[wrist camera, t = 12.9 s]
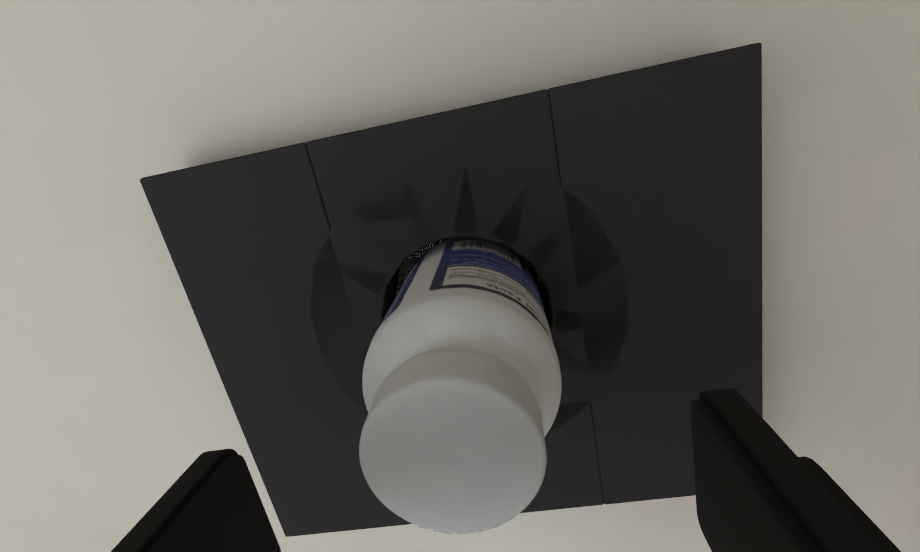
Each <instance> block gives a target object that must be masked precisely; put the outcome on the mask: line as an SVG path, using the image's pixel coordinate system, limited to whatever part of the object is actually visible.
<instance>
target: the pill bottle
mask: <svg viewBox="0 0 920 552" xmlns="http://www.w3.org/2000/svg"><path fill="white" fill-rule="evenodd" d="M362 387H363V396H364V400H365V405H366V408H367V411H368V416H367V418H366V421H365V423H364V426H363V429H362V433H361V437H360V444H359V459H360V464H361V468H362V471H363V474H364V477H365V479H366V481H367V483H368V485H369V487H370V488H371V490H372V492H373V493H374V494H375V495H376V497H377V498H378V499H379V500H380V501H381V502H382V503H383V504H384V505H385V506H386V507H387V508H388V509H389V510H391V511H392V512H394V513H395V514H396V515H398V516H399V517H401V518H403V519H404V520H406V521H408V522H410V523H412V524H414V525H417V526H419V527H421V528H425V529H429V530H433V531H438V532H444V533H459V534H460V533H472V532H477V531H478V532H479V531H483V530H487V529H491V528H494V527H497V526H499V525H501V524H503V523H505V522H507V521H509V520H511V519H512V518H514V517H515V516H516V515H518V514H519V513H520V512H521V511H523V510H524V509H525V508H526V507H527V506H528V505H529V504H530V502H531V501H532V500H533V499H534V497H535V496H536V494H537V492H538V491H539V488H540V486H541V484H542V482H543V478H544V475H545V470H546V463H547V455H546V446H545V438H544V437H545V436H546V434H547V433H548V431H549V430H550V428H551V426H552V424H553V422H554V420H555V417H556V415H557V412H558V408H559V404H560V399H561V389H562V381H561V372H560V365H559V359H558V355H557V352H556V350H555V346H554V343H553V339H552V336H551V332H550V328H549V325H548V321H547V318H546V315H545V311H544V307H543V304H542V301H541V297H540V293H539V289H538V287H537V284H536V281H535V278H534V276H533V274H532V272H531V270H530V268H529V266H528V265H527V263H526V262H525V260H524V259H523V258H522V257H521V256H520V255H519V254H517V253H516V252H514V251H513V250H511V249H510V248H508V247H507V246H505V245H504V244H502V243H500V242H496V241H491V240H486V239H481V238H476V237H471V236H466V235H465V236H460V237H454V238H449V239H446V240H444V241H442V242H440V243H438V244H436V245H434V246H433V247H431V248H430V249H429V250H428V251H426V252H425V253H424V254H423V255H422V256H421V257H420V258H419V259H418V261H417V262H416V263H415V264H414V266H413V267H412V269H411V270H410V272H409V273H408V275H407V277H406V279H405V281H404V283H403V285H402V287H401V289H400V290H399V292H398V294H397V296H396V298H395V300H394V301H393V303H392V305H391V307H390V308H389V310H388V312H387V314H386V316H385V318H384V319H383V321H382V323H381V324H380V326H379V328H378V330H377V332H376V333H375V335H374V337H373V339H372V341H371V343H370V347H369V349H368V352H367V355H366V358H365V362H364V368H363V377H362Z"/></svg>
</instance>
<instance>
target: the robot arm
mask: <svg viewBox="0 0 920 552" xmlns="http://www.w3.org/2000/svg"><path fill="white" fill-rule="evenodd" d="M690 411H691V427H692V442H693V458H694V473H695V489H696V504H697V515H698V520H699V523H700V527H701V529H702V532H703V534H704V536H705V538H706V540H707V542H708V544H709V546H710V548H711V550H712V552H901V551H900V550H899V549H898V548H897V547H896V546H895V545H894V544H893V543H892V542H891V541H890V540H889V538H888V537H887V536H886V535H885V534H884V533H883V532H882V531H881V530H880V529H879V528H878V527H877V526H876V525H875V524H874V523H873V522H872V520H871V519H870V518H869V517H868V516H867V515H866V514H865V513H864V512H863V511H862V510H861V509H860V508H859V507H858V506H857V505H856V504H855V503H854V501H853V500H852V499H851V498H850V497H849V496H848V495H847V494H846V493H845V492H844V491H843V490H842V489H841V488H840V487H839V486H838V485H837V484H836V482H835V481H834V480H833V479H832V478H831V477H830V476H829V475H828V474H827V473H826V472H825V471H824V470H823V469H822V468H821V467H820V466H819V465H818V464H817V463H816V462H815V461H813V460H812V459H810V458H808V457H797V456H796V455H795V454H794V452H793V451H792V450H791V449H790V448H789V447H788V446H787V445H786V444H785V443H784V441H783V440H782V439H781V438H780V437H779V436H778V435H777V434H776V433H775V431H774V430H773V429H772V428H771V427H770V426H769V425H768V424H767V423H766V422H765V420H764V419H763V418H762V417H761V416H760V415H759V414H758V413H757V412H756V410H755V409H754V408H753V407H752V406H751V405H750V404H749V403H748V402H747V401H746V399H745V398H744V397H743V396H742V395H741V394H740V393H739V392H738V391H737V390H736V389H735V388H725V389H717V390H708V391H702V392H700V395H699V400H692V401H691V404H690ZM111 552H281V550H280V547H279V544H278V542H277V539H276V537H275V534H274V532H273V529H272V527H271V524H270V522H269V519H268V517H267V514H266V512H265V509H264V507H263V504H262V502H261V499H260V497H259V494H258V492H257V489H256V487H255V484H254V482H253V479H252V477H251V475H250V472H249V470H248V467H247V465H246V462H245V460H244V458H243V457H242V456H241V455H238V454H237V452H236V451H234V450H233V449H224V450H216V451H208V452H205V453H203V454H201V455H200V456H199V457H198V458H197V459H196V460H195V461H194V462H193V464H192V465H191V466H190V467H189V468H188V469H187V470H186V471H185V472H184V473H183V474H182V475H181V476H180V478H179V479H178V480H177V481H176V482H175V483H174V484H173V485H172V486H171V487H170V488H169V489H168V491H167V492H166V493H165V494H164V495H163V496H162V497H161V498H160V499H159V500H158V501H157V502H156V504H155V505H154V506H153V507H152V508H151V509H150V510H149V511H148V512H147V513H146V514H145V515H144V517H143V518H142V519H141V520H140V521H139V522H138V523H137V524H136V525H135V526H134V527H133V528H132V530H131V531H130V532H129V533H128V534H127V535H126V536H125V537H124V538H123V539H122V540H121V541H120V543H119V544H118V545H117V546H116V547H115V548H114V549H113V550H112V551H111Z"/></svg>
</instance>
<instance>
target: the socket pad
mask: <svg viewBox="0 0 920 552" xmlns="http://www.w3.org/2000/svg"><path fill="white" fill-rule="evenodd" d="M140 182H141V184H142V187H143V189H144V191H145V194H146V196H147V199H148V201H149V204H150V206H151V209H152V211H153V213H154V216H155V218H156V221H157V223H158V226H159V228H160V231H161V233H162V235H163V238H164V240H165V243H166V245H167V248H168V250H169V252H170V255H171V257H172V260H173V262H174V265H175V267H176V270H177V272H178V274H179V277H180V279H181V282H182V284H183V287H184V289H185V292H186V294H187V296H188V299H189V301H190V304H191V306H192V309H193V311H194V314H195V316H196V318H197V321H198V323H199V326H200V328H201V331H202V333H203V336H204V338H205V340H206V343H207V345H208V348H209V350H210V353H211V355H212V357H213V360H214V362H215V365H216V367H217V370H218V372H219V375H220V377H221V379H222V382H223V384H224V387H225V389H226V392H227V394H228V397H229V399H230V401H231V404H232V406H233V409H234V411H235V414H236V416H237V419H238V421H239V423H240V426H241V428H242V431H243V433H244V436H245V438H246V440H247V443H248V445H249V448H250V450H251V453H252V455H253V458H254V460H255V462H256V465H257V467H258V470H259V472H260V475H261V477H262V480H263V482H264V484H265V487H266V489H267V492H268V494H269V497H270V499H271V502H272V504H273V506H274V509H275V511H276V514H277V516H278V519H279V521H280V523H281V526H282V528H283V531H284V533H285V536H287V537H288V536H298V535H308V534H317V533H327V532H337V531H347V530H356V529H366V528H376V527H386V526H395V525H405V524H412V523H410V522H408V521H406V520H404V519H403V518H401V517H399V516H398V515H396V514H395V513H394V512H392V511H391V510H389V509H388V508H387V507H386V506H385V505H384V504H383V503H382V502H381V501H380V500H379V499H378V498H377V497H376V495H375V494H374V493H373V492H372V490H371V488H370V487H369V485H368V483H367V481H366V479H365V477H364V474H363V471H362V468H361V464H360V459H359V444H360V437H361V433H362V429H363V426H364V423H365V421H366V418H367V416H368V411H367V408H366V405H365V400H364V396H363V387H362V377H363V368H364V362H365V358H366V355H367V352H368V349H369V347H370V343H371V341H372V339H373V337H374V335H375V333H376V332H377V330H378V328H379V326H380V324H381V323H382V321H383V319H384V318H385V316H386V314H387V312H388V310H389V308H390V307H391V305H392V303H393V301H394V300H395V298H396V294H395V293H396V287H397V281H398V274H399V268H400V265H401V264H402V262H403V261H404V259H406V258H408V257H409V256H411V255H412V254H414V253H415V252H417V251H418V250H420V249H421V248H423V247H424V246H426V245H427V244H429V243H431V242H432V241H438V240H443V239H449V238H454V237H460V236H465V235H466V236H471V237H476V238H481V239H486V240H491V241H496V242H500V243H502V244H504V245H505V246H507V247H508V248H510V249H511V250H513V251H514V252H516V253H517V254H519V255H520V256H522V257H523V258H525V259H526V260H528V261H529V262H530V263H531V265H532V266H533V268H534V269H535V271H536V272H537V274H538V275H539V277H540V279H541V280H542V282H543V286H544V292H545V299H544V302H543V307H544V311H545V315H546V318H547V321H548V325H549V328H550V332H551V336H552V339H553V343H554V346H555V350H556V352H557V355H558V359H559V365H560V372H561V381H562V389H561V399H560V404H559V408H558V412H557V415H556V417H555V420H554V422H553V424H552V426H551V428H550V430H549V431H548V433H547V434H546V436H545V437H544V438H545V446H546V455H547V463H546V470H545V475H544V478H543V482H542V484H541V486H540V488H539V491H538V492H537V494H536V496H535V497H534V499H533V500H532V501H531V502H530V504H529V505H528V506H527V507H526V508H525V509H524V510H523V511H521V512H520V513H524V512H534V511H544V510H553V509H563V508H573V507H583V506H593V505H602V504H603V503H604V504H613V503H623V502H633V501H643V500H652V499H662V498H672V497H682V496H691V495H696V489H695V473H694V458H693V442H692V427H691V411H690V404H691V401H692V400H699V395H700V392H702V391H708V390H717V389H725V388H735V389H736V390H737V391H738V392H739V393H740V394H741V395H742V396H743V397H744V398H745V399H746V401H747V402H748V403H749V404H750V405H751V406H752V407H753V408H754V409H755V410H756V412H757V413H758V414H759V415H760V416H761V417H762V52H761V43H755V44H750V45H746V46H741V47H737V48H732V49H727V50H723V51H718V52H714V53H709V54H705V55H700V56H696V57H691V58H686V59H682V60H677V61H673V62H668V63H664V64H659V65H655V66H650V67H645V68H641V69H636V70H632V71H627V72H623V73H618V74H614V75H609V76H605V77H600V78H595V79H591V80H586V81H582V82H577V83H573V84H568V85H564V86H559V87H554V88H550V89H548V90H546V89H545V90H541V91H536V92H532V93H527V94H523V95H518V96H514V97H509V98H504V99H500V100H495V101H491V102H486V103H482V104H477V105H473V106H468V107H463V108H459V109H454V110H450V111H445V112H441V113H436V114H432V115H427V116H422V117H418V118H413V119H409V120H404V121H400V122H395V123H391V124H386V125H381V126H377V127H372V128H368V129H363V130H359V131H354V132H350V133H345V134H340V135H336V136H331V137H327V138H322V139H318V140H313V141H309V142H305V143H299V144H295V145H290V146H286V147H281V148H277V149H272V150H268V151H263V152H258V153H254V154H249V155H245V156H240V157H236V158H231V159H227V160H222V161H217V162H213V163H208V164H204V165H199V166H195V167H190V168H186V169H181V170H176V171H172V172H167V173H163V174H158V175H154V176H149V177H145V178H142V179H140Z"/></svg>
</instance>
